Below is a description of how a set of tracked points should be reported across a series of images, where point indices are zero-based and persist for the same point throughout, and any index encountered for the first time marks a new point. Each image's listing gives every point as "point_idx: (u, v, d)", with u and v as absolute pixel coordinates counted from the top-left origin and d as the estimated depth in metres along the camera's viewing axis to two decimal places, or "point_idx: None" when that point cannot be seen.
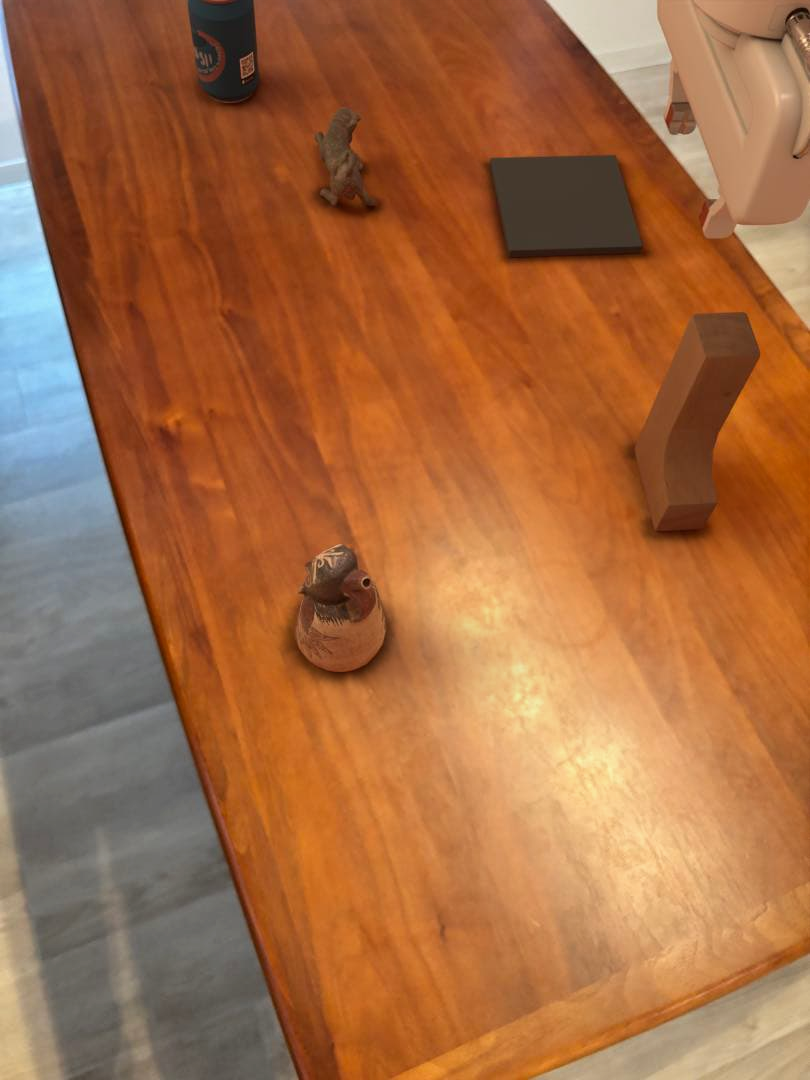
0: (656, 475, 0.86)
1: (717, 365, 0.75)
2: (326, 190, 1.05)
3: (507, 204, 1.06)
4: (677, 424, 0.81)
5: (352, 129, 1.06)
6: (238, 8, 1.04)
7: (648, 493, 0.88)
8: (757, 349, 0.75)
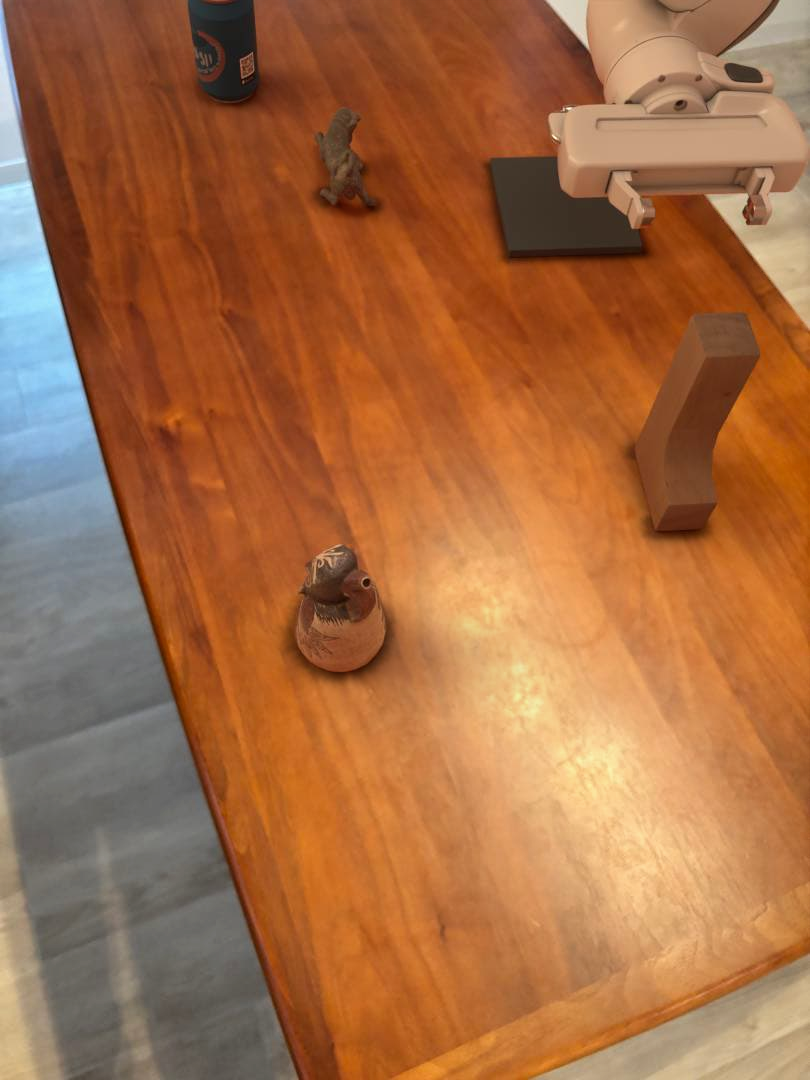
0: (656, 475, 0.86)
1: (717, 365, 0.75)
2: (326, 190, 1.05)
3: (507, 204, 1.06)
4: (677, 424, 0.81)
5: (352, 129, 1.06)
6: (238, 8, 1.04)
7: (648, 493, 0.88)
8: (757, 349, 0.75)
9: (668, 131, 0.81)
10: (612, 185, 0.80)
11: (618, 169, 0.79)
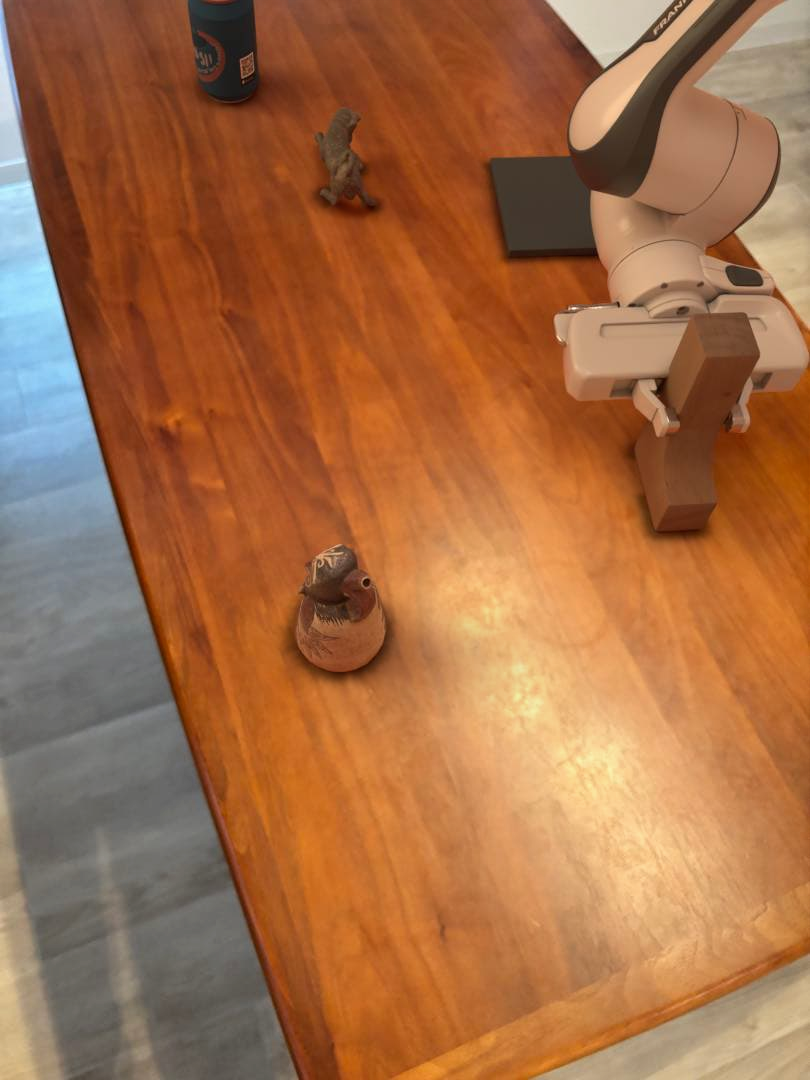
0: (656, 476, 0.86)
1: (716, 365, 0.75)
2: (326, 190, 1.05)
3: (507, 204, 1.06)
4: None
5: (352, 129, 1.06)
6: (238, 8, 1.04)
7: (648, 493, 0.88)
8: (757, 349, 0.75)
9: (671, 337, 0.83)
10: (637, 392, 0.82)
11: (643, 378, 0.82)
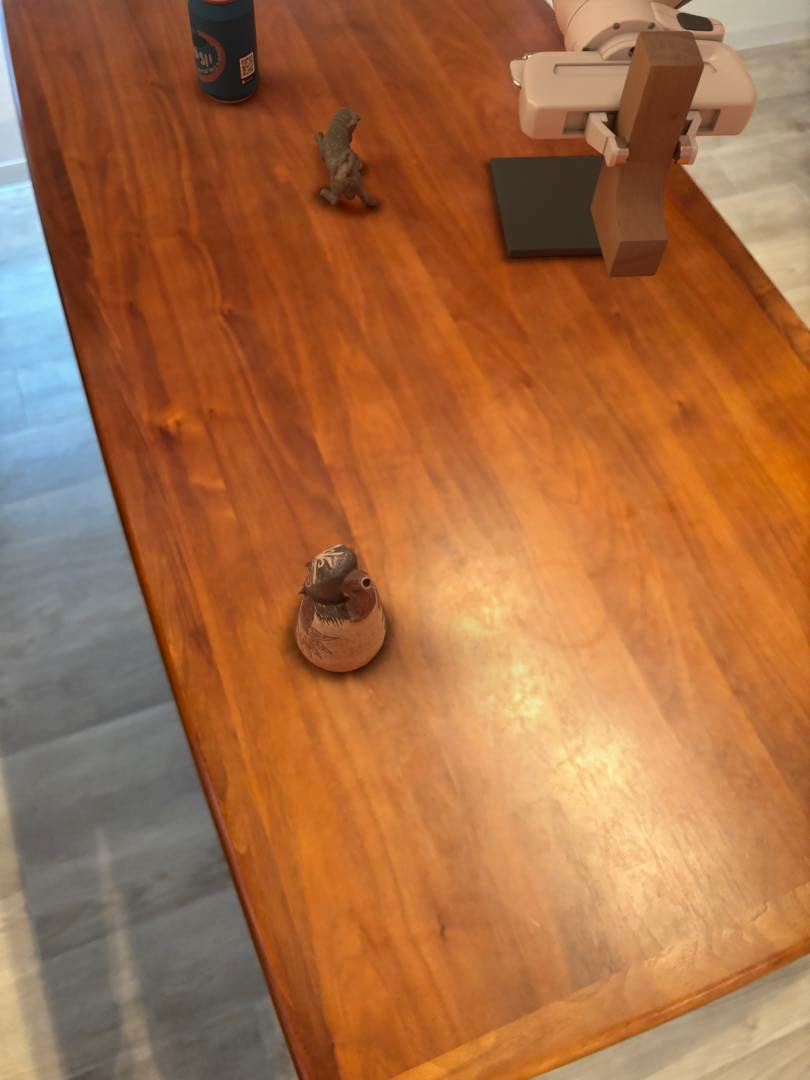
0: (609, 219, 0.89)
1: (662, 77, 0.78)
2: (326, 190, 1.05)
3: (507, 204, 1.06)
4: None
5: (352, 129, 1.06)
6: (238, 8, 1.04)
7: (602, 242, 0.91)
8: (700, 60, 0.77)
9: (622, 76, 0.86)
10: (589, 126, 0.84)
11: (594, 110, 0.84)
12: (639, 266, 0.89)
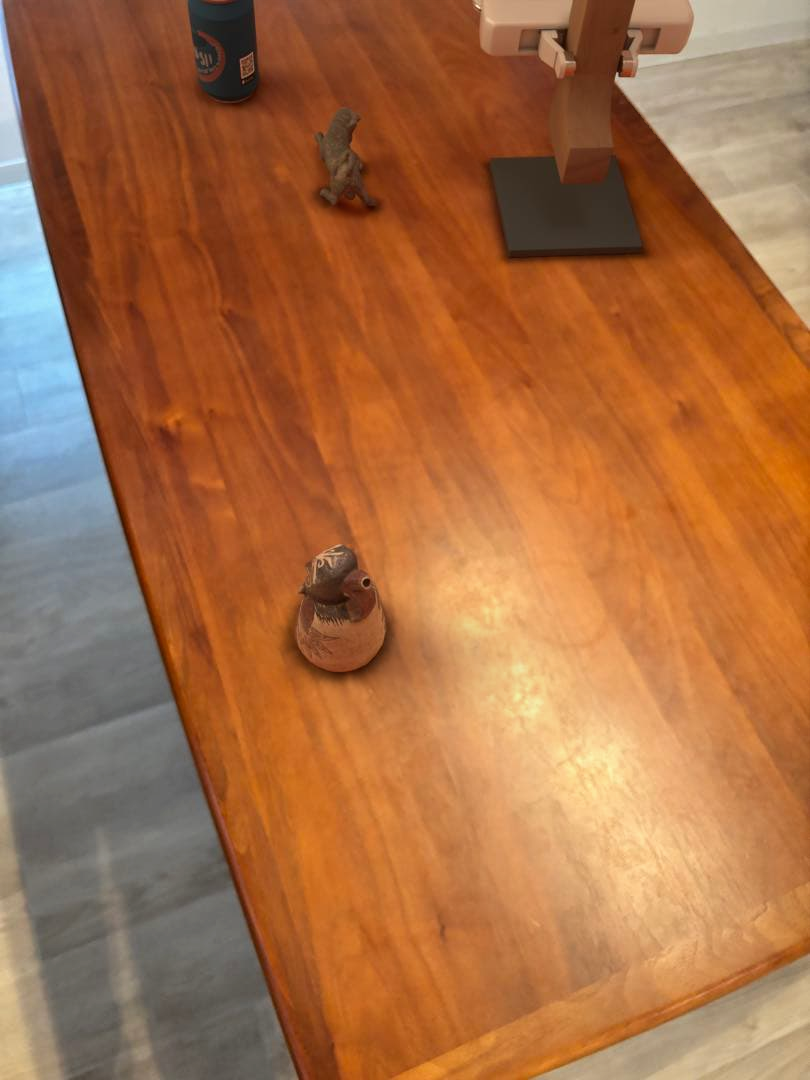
0: (561, 130, 0.98)
1: None
2: (326, 190, 1.05)
3: (507, 204, 1.06)
4: None
5: (352, 129, 1.06)
6: (238, 8, 1.04)
7: (556, 153, 1.00)
8: None
9: None
10: (541, 42, 0.94)
11: (546, 28, 0.93)
12: (589, 173, 0.98)
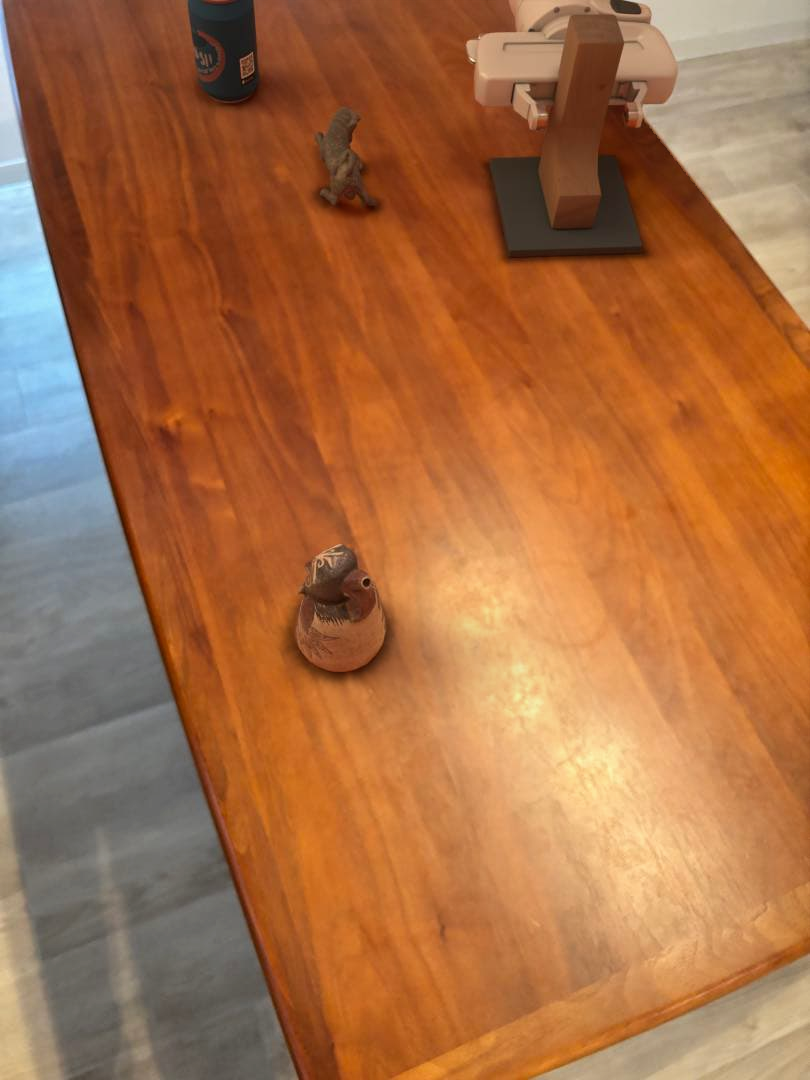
0: (551, 178, 1.03)
1: (589, 52, 0.92)
2: (326, 190, 1.05)
3: (507, 204, 1.06)
4: (564, 121, 0.98)
5: (352, 129, 1.06)
6: (238, 8, 1.04)
7: (547, 199, 1.05)
8: (621, 38, 0.92)
9: None
10: (515, 95, 0.98)
11: (519, 82, 0.98)
12: (577, 218, 1.03)
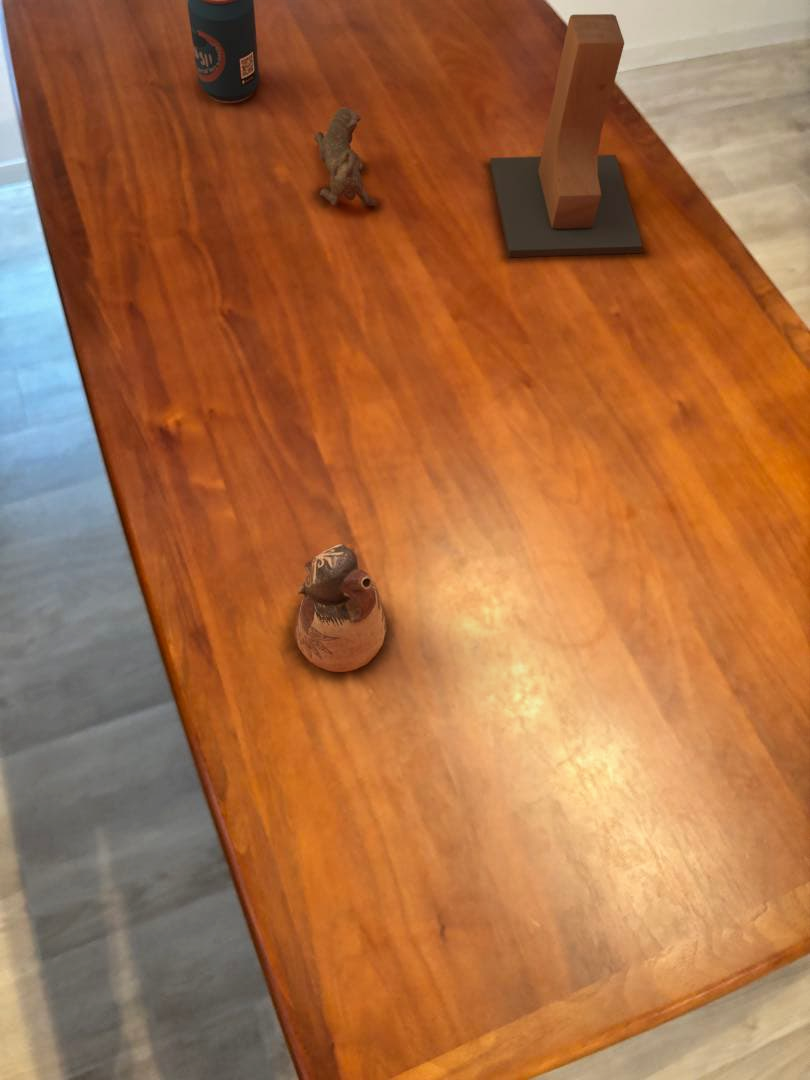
0: (551, 178, 1.03)
1: (589, 52, 0.92)
2: (326, 190, 1.05)
3: (507, 204, 1.06)
4: (564, 121, 0.98)
5: (352, 129, 1.06)
6: (238, 8, 1.04)
7: (547, 199, 1.05)
8: (621, 38, 0.92)
9: None
10: None
11: None
12: (577, 218, 1.03)
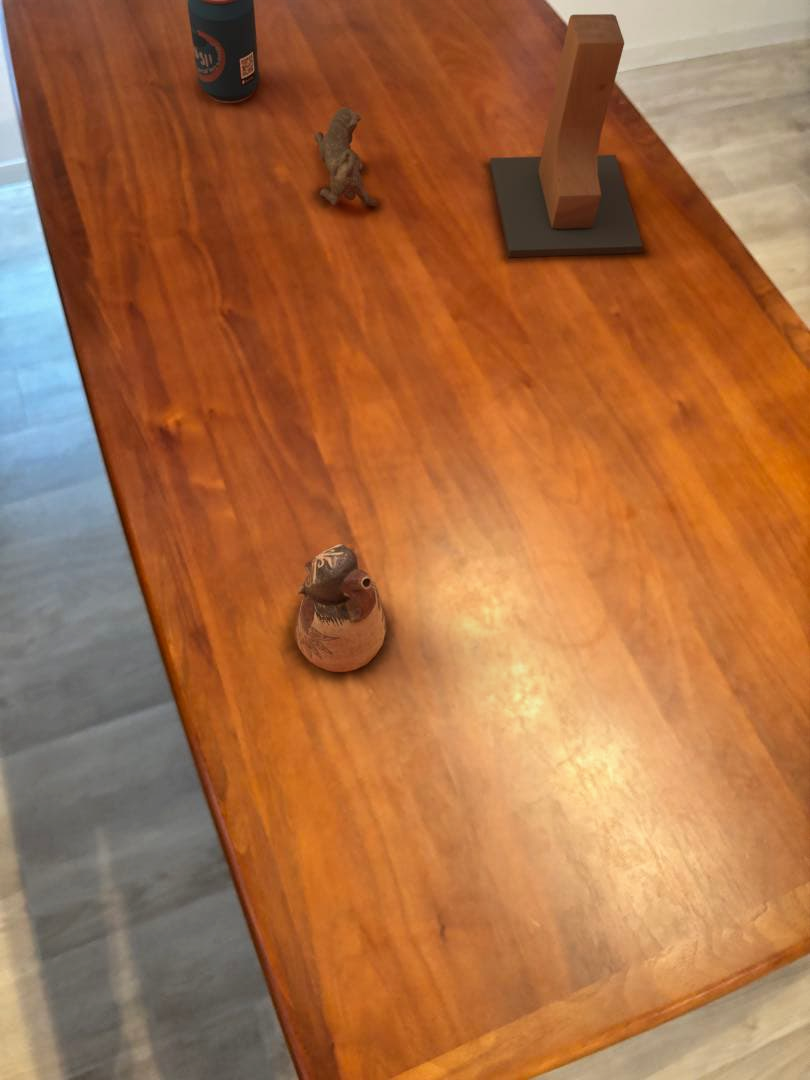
0: (551, 178, 1.03)
1: (589, 52, 0.92)
2: (326, 190, 1.05)
3: (507, 204, 1.06)
4: (564, 121, 0.98)
5: (352, 129, 1.06)
6: (238, 8, 1.04)
7: (547, 199, 1.05)
8: (621, 38, 0.92)
9: None
10: None
11: None
12: (577, 218, 1.03)
